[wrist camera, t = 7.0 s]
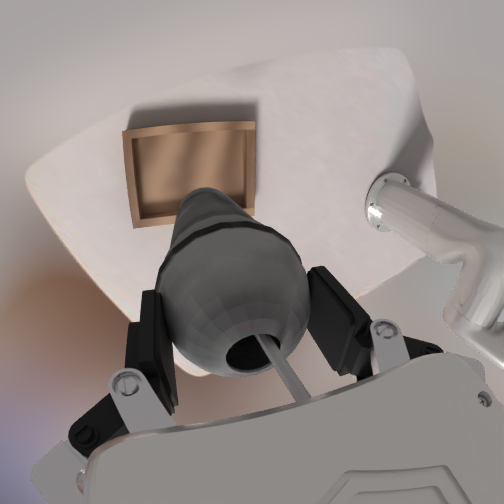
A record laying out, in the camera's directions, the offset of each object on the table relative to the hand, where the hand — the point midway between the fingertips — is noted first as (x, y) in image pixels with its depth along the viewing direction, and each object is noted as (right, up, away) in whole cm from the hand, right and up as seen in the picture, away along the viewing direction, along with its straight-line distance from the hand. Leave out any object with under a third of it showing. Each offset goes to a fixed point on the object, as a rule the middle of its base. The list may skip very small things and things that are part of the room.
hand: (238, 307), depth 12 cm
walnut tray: (-8, +14, +27) cm, 32 cm away
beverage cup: (-3, +6, +11) cm, 13 cm away
